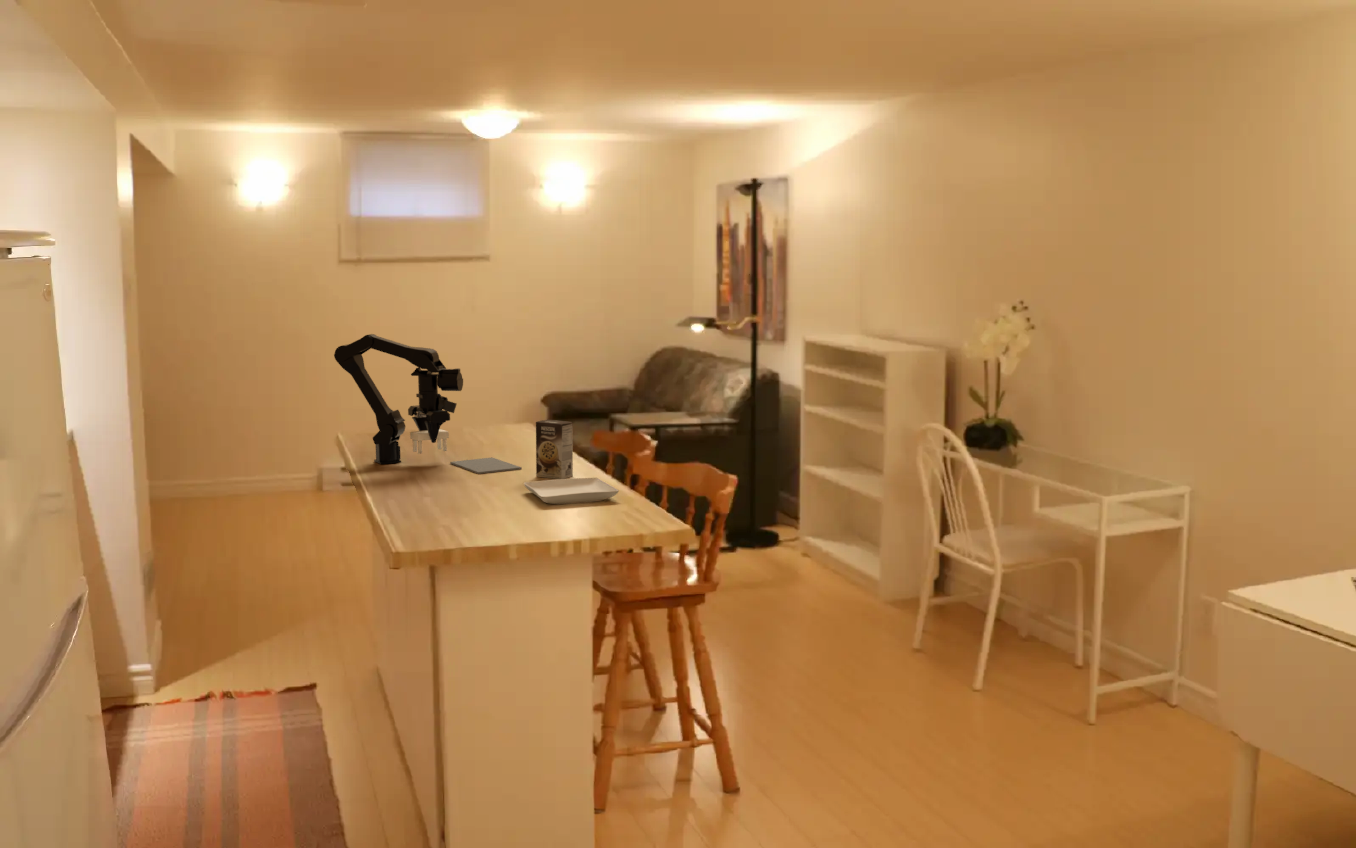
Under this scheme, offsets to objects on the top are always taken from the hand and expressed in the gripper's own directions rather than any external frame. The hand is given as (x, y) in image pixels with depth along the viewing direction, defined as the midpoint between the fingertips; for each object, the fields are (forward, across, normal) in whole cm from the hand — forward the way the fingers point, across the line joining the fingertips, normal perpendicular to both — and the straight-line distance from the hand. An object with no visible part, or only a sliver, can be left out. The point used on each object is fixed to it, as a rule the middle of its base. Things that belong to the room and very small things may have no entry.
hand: (429, 441), depth 365 cm
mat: (+7, -14, -12) cm, 20 cm away
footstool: (+3, 0, 0) cm, 3 cm away
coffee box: (+7, -39, -22) cm, 45 cm away
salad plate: (+8, -66, -12) cm, 67 cm away
